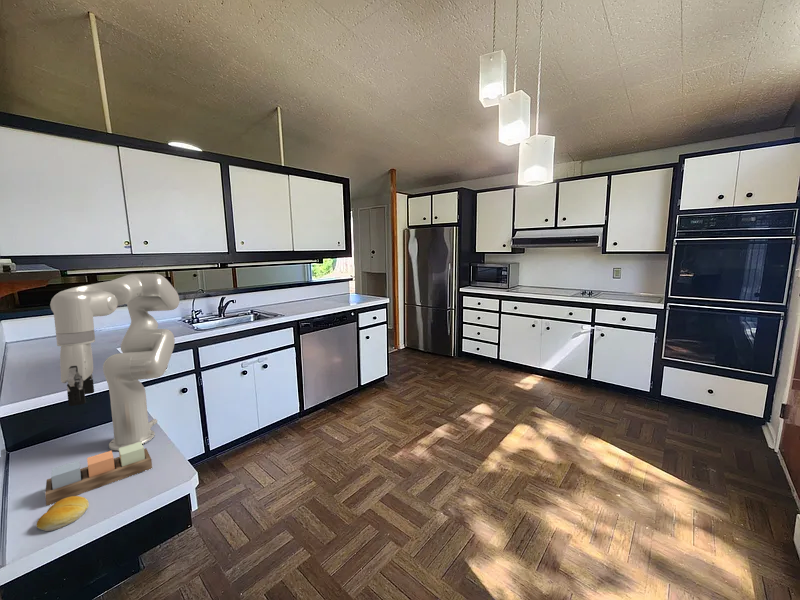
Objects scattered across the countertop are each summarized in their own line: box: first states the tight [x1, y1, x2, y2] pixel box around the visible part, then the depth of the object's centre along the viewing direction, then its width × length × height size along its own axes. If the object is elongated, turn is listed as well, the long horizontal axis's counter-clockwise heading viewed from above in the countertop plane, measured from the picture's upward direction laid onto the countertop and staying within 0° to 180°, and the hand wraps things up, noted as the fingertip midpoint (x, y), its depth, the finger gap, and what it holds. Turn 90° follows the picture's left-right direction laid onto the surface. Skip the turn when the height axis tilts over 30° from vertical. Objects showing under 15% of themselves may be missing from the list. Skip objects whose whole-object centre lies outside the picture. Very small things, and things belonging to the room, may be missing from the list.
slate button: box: [50, 459, 81, 490], centre depth 91 cm, size 5×5×4 cm
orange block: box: [86, 449, 115, 478], centre depth 96 cm, size 5×5×4 cm
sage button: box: [118, 442, 145, 467], centre depth 101 cm, size 5×5×4 cm
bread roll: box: [36, 495, 90, 532], centre depth 81 cm, size 8×9×4 cm
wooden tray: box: [44, 447, 153, 506], centre depth 96 cm, size 22×9×3 cm, turn 135°
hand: (82, 399), depth 92 cm, fingers open, 9 cm apart
